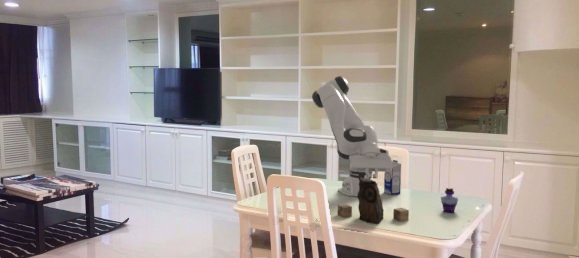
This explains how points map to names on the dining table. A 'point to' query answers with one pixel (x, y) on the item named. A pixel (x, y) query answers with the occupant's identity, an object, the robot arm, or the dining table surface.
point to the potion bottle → (449, 201)
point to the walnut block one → (344, 210)
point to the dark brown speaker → (369, 201)
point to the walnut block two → (401, 214)
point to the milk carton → (393, 179)
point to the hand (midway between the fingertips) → (372, 177)
